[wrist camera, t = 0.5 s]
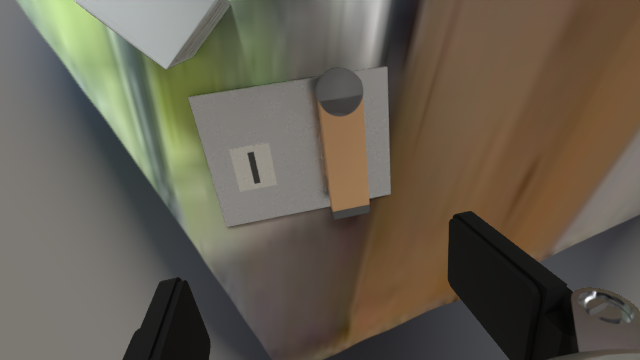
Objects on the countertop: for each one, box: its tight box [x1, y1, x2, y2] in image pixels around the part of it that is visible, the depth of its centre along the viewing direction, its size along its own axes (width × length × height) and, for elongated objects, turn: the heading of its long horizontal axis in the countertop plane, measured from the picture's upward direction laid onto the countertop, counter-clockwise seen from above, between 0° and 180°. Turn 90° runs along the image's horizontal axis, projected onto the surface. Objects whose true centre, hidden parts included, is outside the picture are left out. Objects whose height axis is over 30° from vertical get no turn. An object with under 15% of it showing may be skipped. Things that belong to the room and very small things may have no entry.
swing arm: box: [316, 67, 370, 220], centre depth 40 cm, size 19×5×2 cm, turn 7°
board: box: [188, 66, 391, 227], centre depth 42 cm, size 18×24×3 cm
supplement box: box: [74, 0, 231, 69], centre depth 28 cm, size 7×7×13 cm
